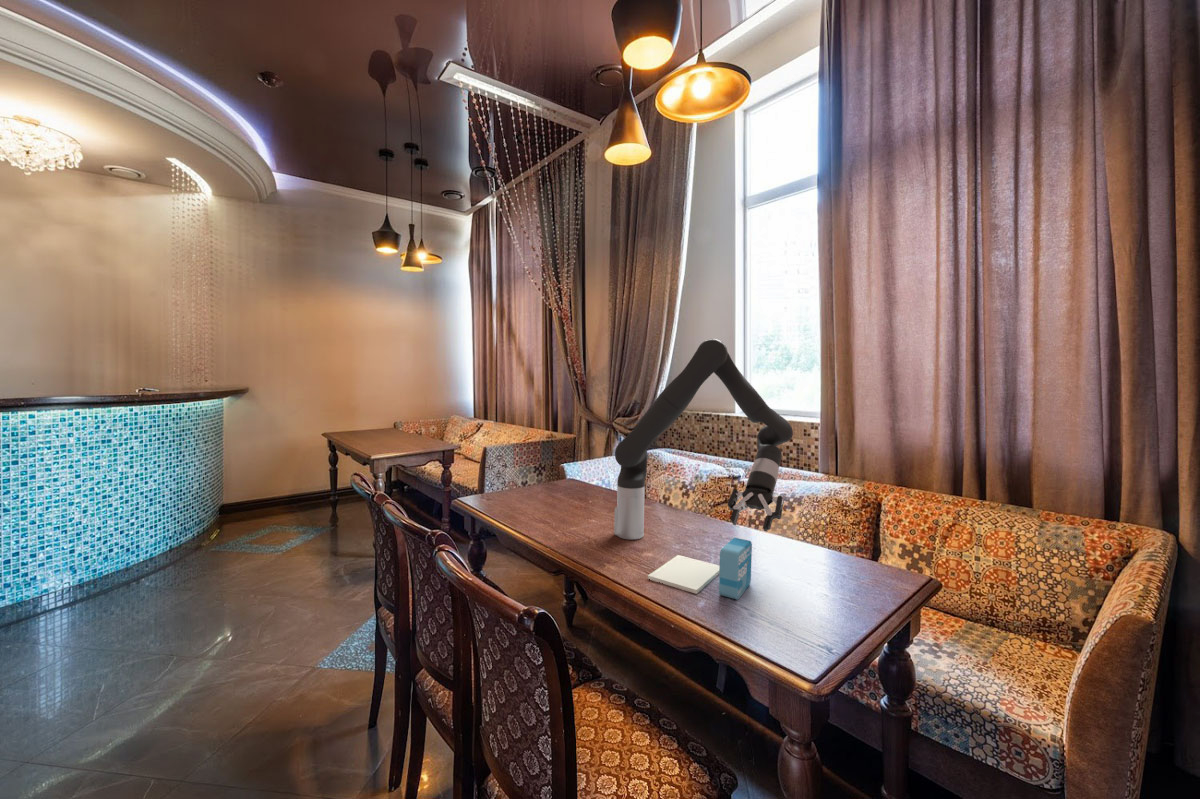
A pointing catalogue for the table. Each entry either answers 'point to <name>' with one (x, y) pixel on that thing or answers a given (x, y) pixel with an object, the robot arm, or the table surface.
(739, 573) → the data package
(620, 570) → the table surface
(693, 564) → the cream mat
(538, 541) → the table surface
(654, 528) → the table surface
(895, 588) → the table surface
